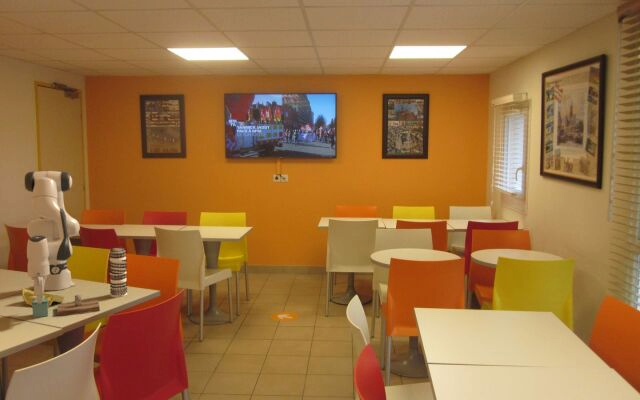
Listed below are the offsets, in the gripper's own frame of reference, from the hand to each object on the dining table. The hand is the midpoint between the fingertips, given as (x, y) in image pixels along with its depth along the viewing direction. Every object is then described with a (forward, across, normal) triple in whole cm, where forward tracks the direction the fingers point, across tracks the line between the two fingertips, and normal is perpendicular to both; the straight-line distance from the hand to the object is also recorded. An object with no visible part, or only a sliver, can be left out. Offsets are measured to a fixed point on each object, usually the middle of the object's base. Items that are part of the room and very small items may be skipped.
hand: (40, 300), depth 234 cm
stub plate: (+7, +2, -16) cm, 18 cm away
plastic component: (+7, +21, 0) cm, 22 cm away
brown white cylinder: (+7, +20, -36) cm, 42 cm away
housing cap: (+7, +1, 0) cm, 7 cm away
